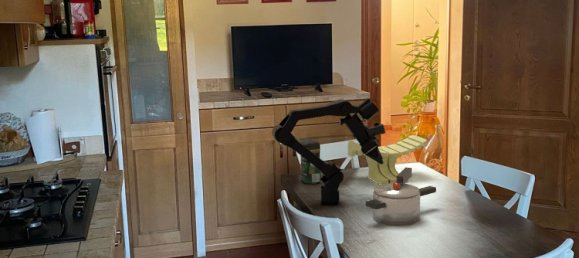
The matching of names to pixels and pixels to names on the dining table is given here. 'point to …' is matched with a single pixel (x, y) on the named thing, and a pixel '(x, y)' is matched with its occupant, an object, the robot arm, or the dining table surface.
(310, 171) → the coffee jar
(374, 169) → the slatted curved stool
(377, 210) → the pressure cooker pot
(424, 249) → the dining table surface
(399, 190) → the pressure cooker lid
